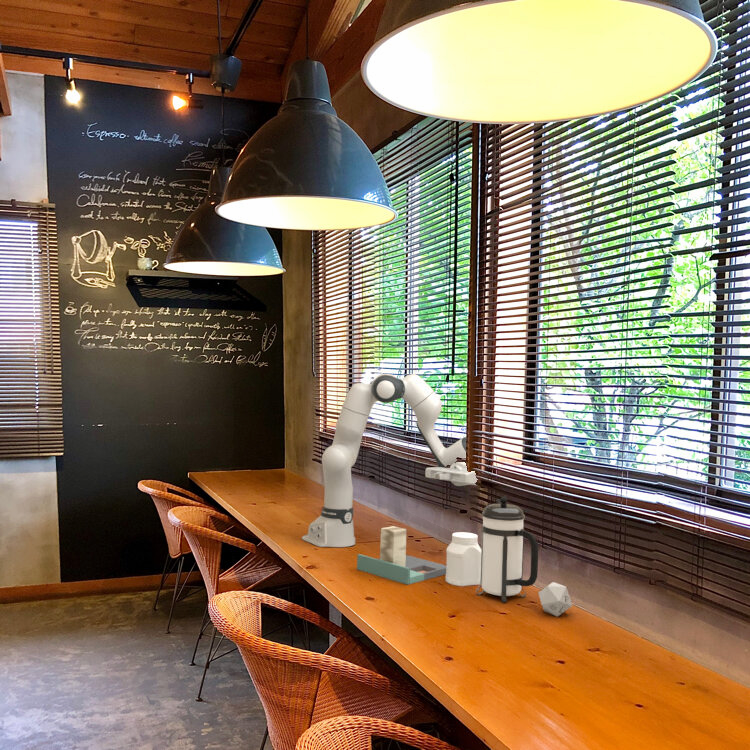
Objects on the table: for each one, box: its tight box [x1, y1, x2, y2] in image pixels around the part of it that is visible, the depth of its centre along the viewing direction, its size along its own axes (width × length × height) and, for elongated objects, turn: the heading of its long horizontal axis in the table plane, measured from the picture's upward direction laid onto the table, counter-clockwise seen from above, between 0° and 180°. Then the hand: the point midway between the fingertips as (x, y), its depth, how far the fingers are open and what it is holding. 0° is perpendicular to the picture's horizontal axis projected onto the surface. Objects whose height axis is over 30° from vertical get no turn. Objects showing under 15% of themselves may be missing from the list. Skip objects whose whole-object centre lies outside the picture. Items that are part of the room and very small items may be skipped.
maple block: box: [379, 525, 407, 567], centre depth 232 cm, size 6×6×13 cm
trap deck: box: [356, 553, 446, 586], centre depth 236 cm, size 23×22×5 cm
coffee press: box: [475, 496, 539, 604], centre depth 211 cm, size 17×16×30 cm
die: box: [538, 581, 573, 618], centre depth 197 cm, size 8×9×10 cm
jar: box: [445, 531, 482, 587], centre depth 226 cm, size 12×10×15 cm
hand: (436, 476), depth 253 cm, fingers closed
